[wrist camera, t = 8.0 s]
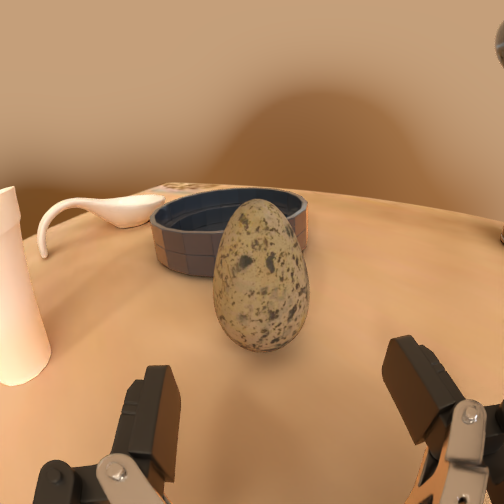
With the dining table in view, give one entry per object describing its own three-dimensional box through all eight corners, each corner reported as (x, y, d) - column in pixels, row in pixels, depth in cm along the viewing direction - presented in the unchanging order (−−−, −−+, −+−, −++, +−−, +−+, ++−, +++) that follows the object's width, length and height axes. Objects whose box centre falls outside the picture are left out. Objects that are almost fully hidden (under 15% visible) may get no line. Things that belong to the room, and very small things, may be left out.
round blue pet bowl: (290, 216, 45) (289, 183, 43) (326, 272, 29) (328, 223, 26) (171, 226, 44) (166, 195, 42) (141, 288, 28) (129, 241, 26)
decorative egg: (209, 332, 21) (187, 199, 17) (278, 308, 24) (273, 183, 20) (244, 386, 17) (226, 225, 12) (324, 349, 19) (334, 202, 15)
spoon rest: (147, 208, 56) (142, 173, 53) (180, 216, 49) (175, 174, 46) (37, 249, 41) (26, 209, 38) (47, 269, 33) (32, 219, 30)
